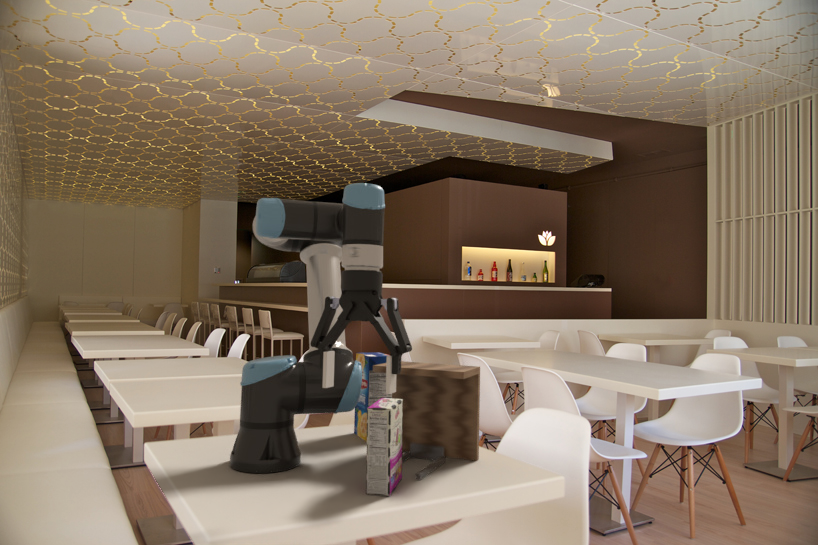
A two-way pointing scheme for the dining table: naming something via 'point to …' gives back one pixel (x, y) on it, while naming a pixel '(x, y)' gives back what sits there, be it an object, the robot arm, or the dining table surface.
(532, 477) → the dining table surface
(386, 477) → the candy bar box
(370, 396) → the blue cardboard box
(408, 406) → the overhang shelf
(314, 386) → the robot arm
